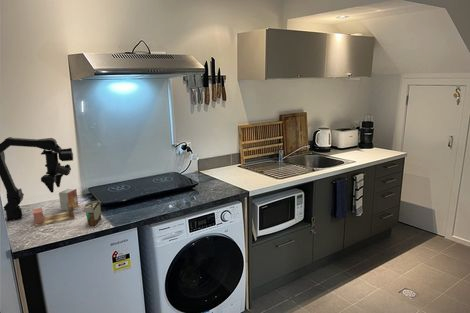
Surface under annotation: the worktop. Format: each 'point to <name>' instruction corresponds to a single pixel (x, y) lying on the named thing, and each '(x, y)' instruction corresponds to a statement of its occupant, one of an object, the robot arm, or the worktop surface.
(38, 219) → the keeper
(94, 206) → the food container
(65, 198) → the small box
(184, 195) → the worktop surface
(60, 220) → the rail
